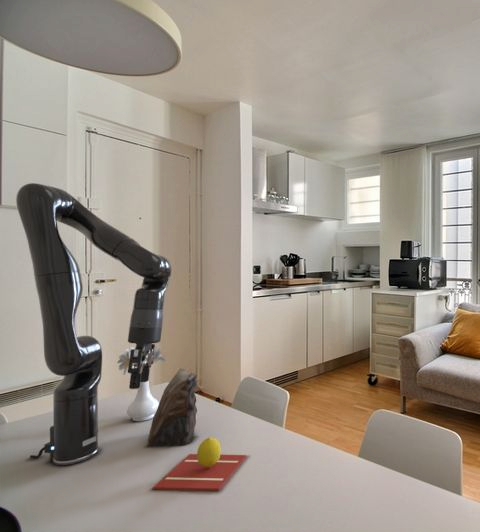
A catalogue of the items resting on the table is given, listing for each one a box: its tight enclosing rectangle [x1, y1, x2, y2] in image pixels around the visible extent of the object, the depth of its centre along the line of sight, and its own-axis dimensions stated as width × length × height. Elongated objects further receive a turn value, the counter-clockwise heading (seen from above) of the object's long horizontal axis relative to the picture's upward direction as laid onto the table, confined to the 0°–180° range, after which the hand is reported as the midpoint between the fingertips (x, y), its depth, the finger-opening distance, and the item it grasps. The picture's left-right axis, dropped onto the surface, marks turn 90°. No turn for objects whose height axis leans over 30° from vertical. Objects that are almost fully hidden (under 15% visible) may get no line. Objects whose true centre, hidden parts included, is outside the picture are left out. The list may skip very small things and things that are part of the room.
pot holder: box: [152, 453, 247, 492], centre depth 96 cm, size 16×15×1 cm
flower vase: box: [116, 345, 167, 422], centre depth 127 cm, size 13×18×25 cm
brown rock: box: [146, 368, 198, 448], centre depth 113 cm, size 13×13×20 cm
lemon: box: [196, 436, 222, 468], centre depth 97 cm, size 6×6×8 cm
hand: (139, 385), depth 100 cm, fingers open, 8 cm apart
